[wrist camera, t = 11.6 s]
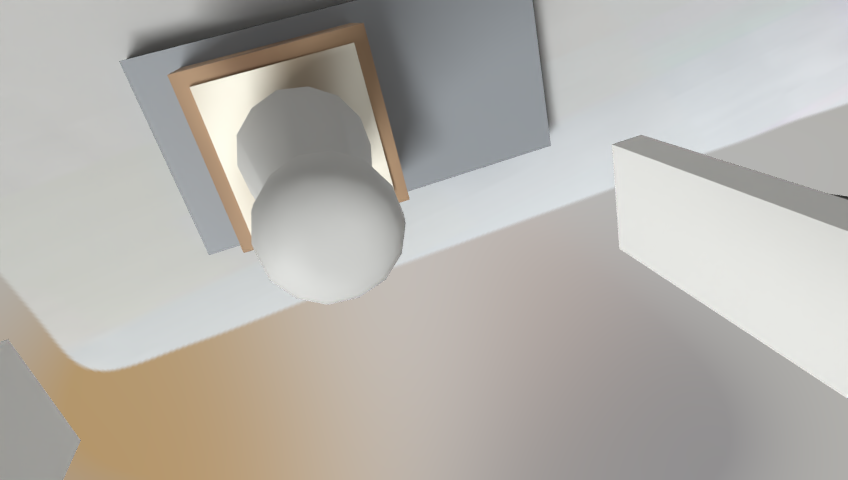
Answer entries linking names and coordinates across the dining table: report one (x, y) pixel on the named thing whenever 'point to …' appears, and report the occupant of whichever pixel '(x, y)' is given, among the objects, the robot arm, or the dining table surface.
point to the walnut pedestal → (264, 74)
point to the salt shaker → (317, 197)
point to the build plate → (382, 90)
